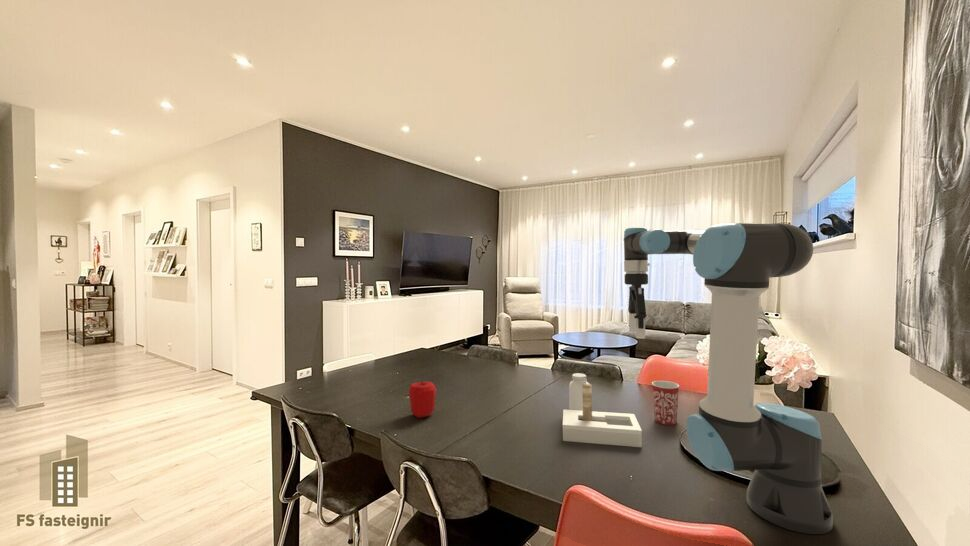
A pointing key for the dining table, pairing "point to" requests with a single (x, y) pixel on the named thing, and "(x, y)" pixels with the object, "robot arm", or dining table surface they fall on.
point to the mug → (665, 402)
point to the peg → (587, 402)
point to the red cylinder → (422, 398)
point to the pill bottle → (576, 391)
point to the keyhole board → (602, 428)
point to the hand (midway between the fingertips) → (636, 335)
